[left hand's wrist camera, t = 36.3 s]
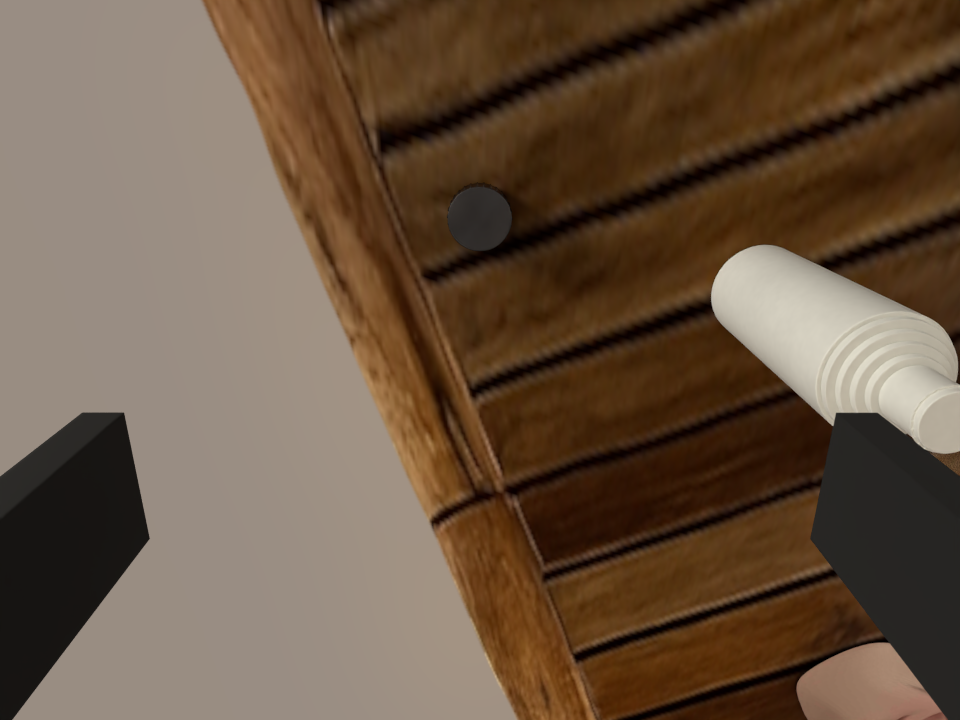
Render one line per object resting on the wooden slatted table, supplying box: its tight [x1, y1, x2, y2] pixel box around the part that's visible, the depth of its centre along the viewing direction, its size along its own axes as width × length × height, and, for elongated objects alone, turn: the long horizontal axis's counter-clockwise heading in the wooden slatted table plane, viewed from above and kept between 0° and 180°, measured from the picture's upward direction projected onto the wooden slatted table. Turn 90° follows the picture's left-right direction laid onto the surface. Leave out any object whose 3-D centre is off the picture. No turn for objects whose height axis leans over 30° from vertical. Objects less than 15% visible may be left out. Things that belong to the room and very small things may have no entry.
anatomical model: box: [797, 643, 948, 720], centre depth 56 cm, size 13×4×12 cm
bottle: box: [711, 245, 960, 454], centre depth 36 cm, size 6×6×20 cm
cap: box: [447, 182, 512, 251], centre depth 43 cm, size 4×4×2 cm
